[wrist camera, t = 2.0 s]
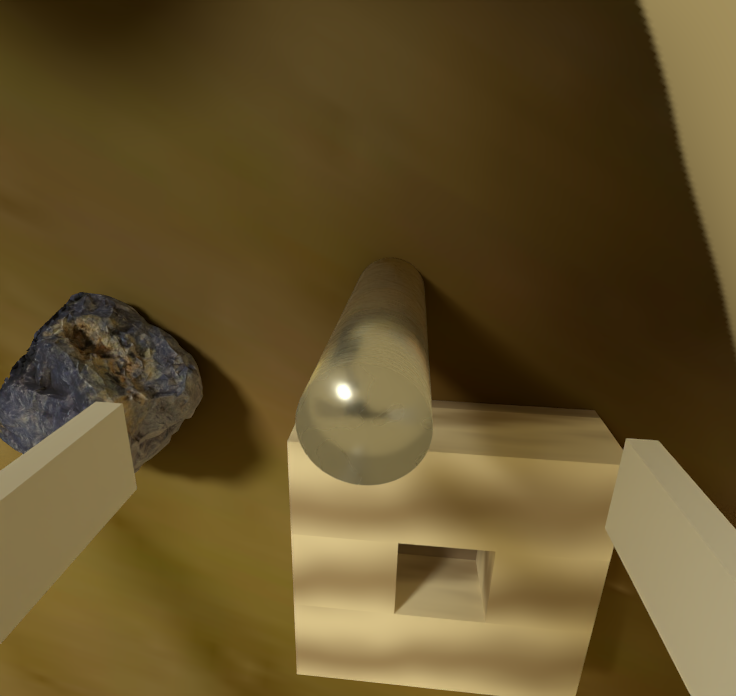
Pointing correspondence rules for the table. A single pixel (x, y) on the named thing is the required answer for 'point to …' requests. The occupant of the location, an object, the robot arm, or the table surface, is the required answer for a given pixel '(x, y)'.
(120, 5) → the table surface
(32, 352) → the rock
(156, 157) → the table surface
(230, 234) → the table surface
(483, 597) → the bore block
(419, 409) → the pin
